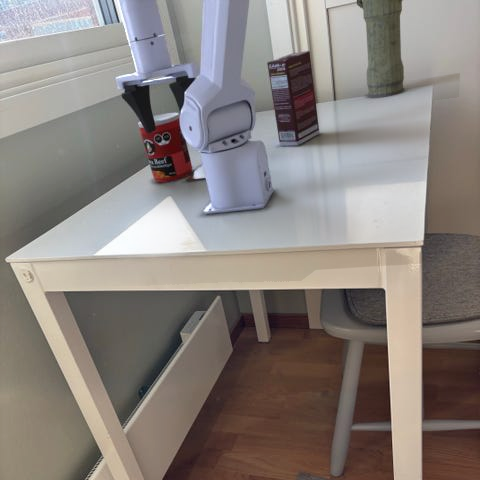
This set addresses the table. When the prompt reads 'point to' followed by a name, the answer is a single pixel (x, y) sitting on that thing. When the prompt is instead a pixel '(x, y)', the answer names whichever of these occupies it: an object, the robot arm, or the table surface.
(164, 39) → the robot arm
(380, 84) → the thermos
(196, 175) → the white flat piece
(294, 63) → the supplement box
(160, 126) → the canned food
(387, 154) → the table surface
